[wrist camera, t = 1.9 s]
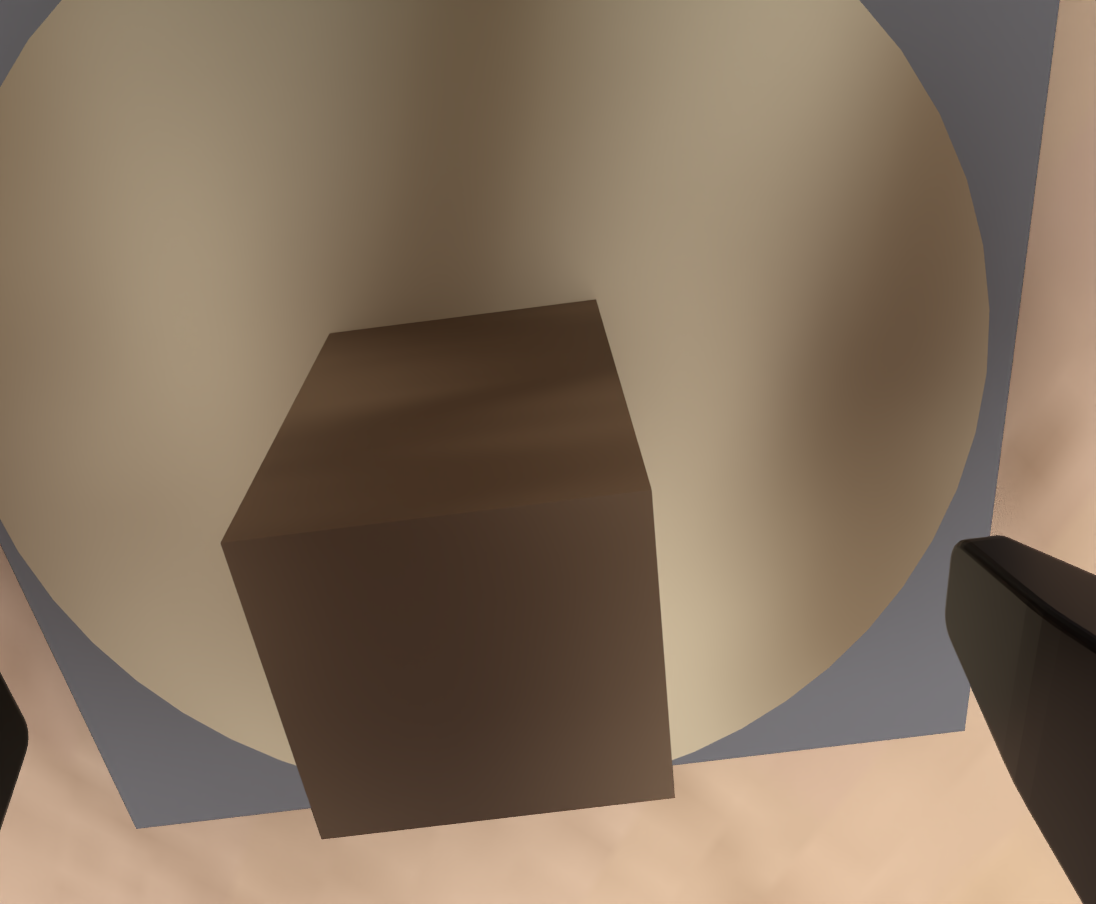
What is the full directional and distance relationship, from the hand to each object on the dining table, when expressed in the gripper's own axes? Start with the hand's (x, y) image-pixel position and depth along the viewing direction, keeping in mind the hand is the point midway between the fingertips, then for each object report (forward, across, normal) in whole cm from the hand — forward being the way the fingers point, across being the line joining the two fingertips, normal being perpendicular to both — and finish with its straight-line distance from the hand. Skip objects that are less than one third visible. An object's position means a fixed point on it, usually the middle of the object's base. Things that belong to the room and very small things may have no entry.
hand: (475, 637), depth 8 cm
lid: (+6, 0, 0) cm, 6 cm away
